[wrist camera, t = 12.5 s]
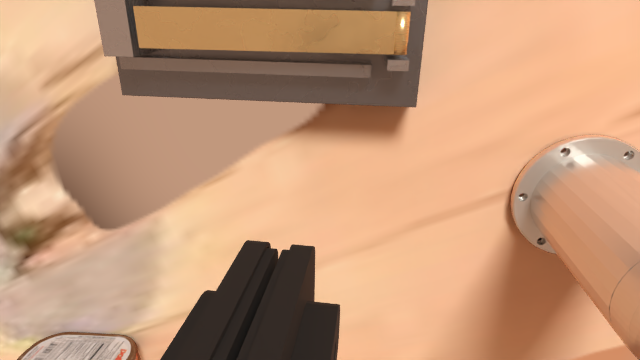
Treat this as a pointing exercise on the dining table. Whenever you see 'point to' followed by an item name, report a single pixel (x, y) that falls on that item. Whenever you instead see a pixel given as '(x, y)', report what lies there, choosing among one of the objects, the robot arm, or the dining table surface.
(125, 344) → the tin
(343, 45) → the brass strap
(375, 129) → the dining table surface
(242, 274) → the robot arm
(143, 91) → the heatsink block
